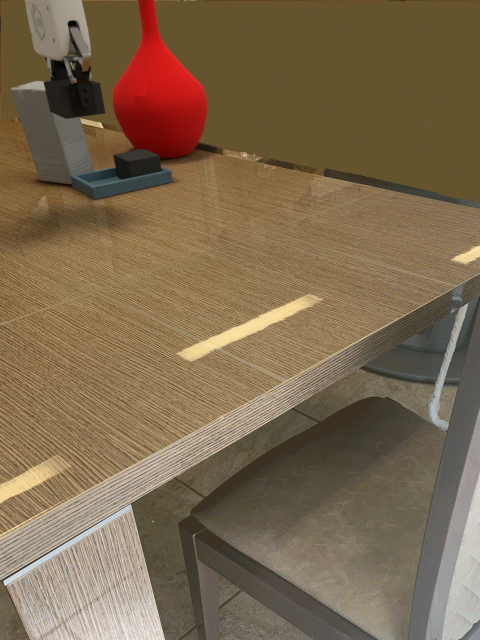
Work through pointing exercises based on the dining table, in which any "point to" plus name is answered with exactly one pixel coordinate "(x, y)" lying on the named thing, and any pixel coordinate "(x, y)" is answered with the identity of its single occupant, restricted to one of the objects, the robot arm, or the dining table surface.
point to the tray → (116, 182)
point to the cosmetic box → (51, 136)
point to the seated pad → (136, 163)
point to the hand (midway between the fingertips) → (76, 108)
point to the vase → (159, 96)
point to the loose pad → (69, 98)
